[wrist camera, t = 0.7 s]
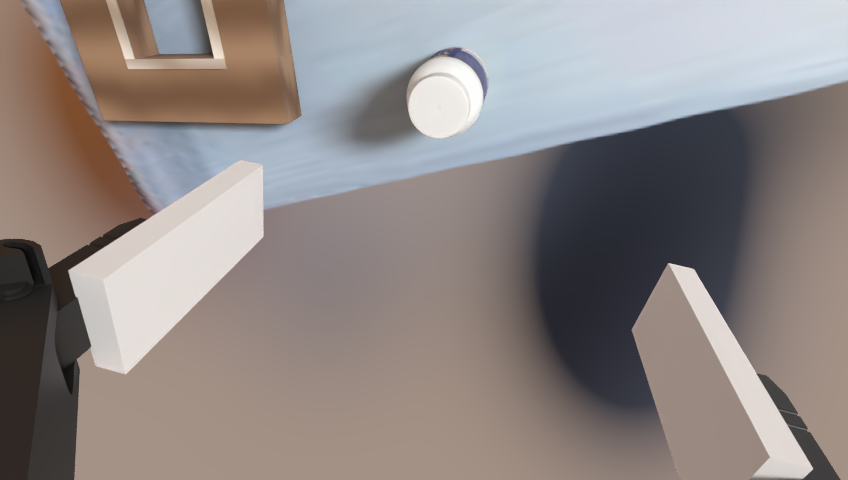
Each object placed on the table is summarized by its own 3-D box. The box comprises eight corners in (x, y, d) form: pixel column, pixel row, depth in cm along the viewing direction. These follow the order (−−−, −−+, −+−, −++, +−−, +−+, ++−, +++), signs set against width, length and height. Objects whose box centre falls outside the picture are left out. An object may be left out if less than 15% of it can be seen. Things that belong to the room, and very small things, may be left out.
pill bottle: (452, 30, 36) (431, 43, 27) (502, 77, 37) (497, 103, 28) (410, 85, 38) (380, 112, 30) (458, 127, 39) (442, 165, 31)
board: (49, -120, 36) (10, -129, 33) (262, -138, 33) (238, -150, 30) (127, 112, 44) (101, 120, 42) (301, 115, 41) (286, 124, 39)
